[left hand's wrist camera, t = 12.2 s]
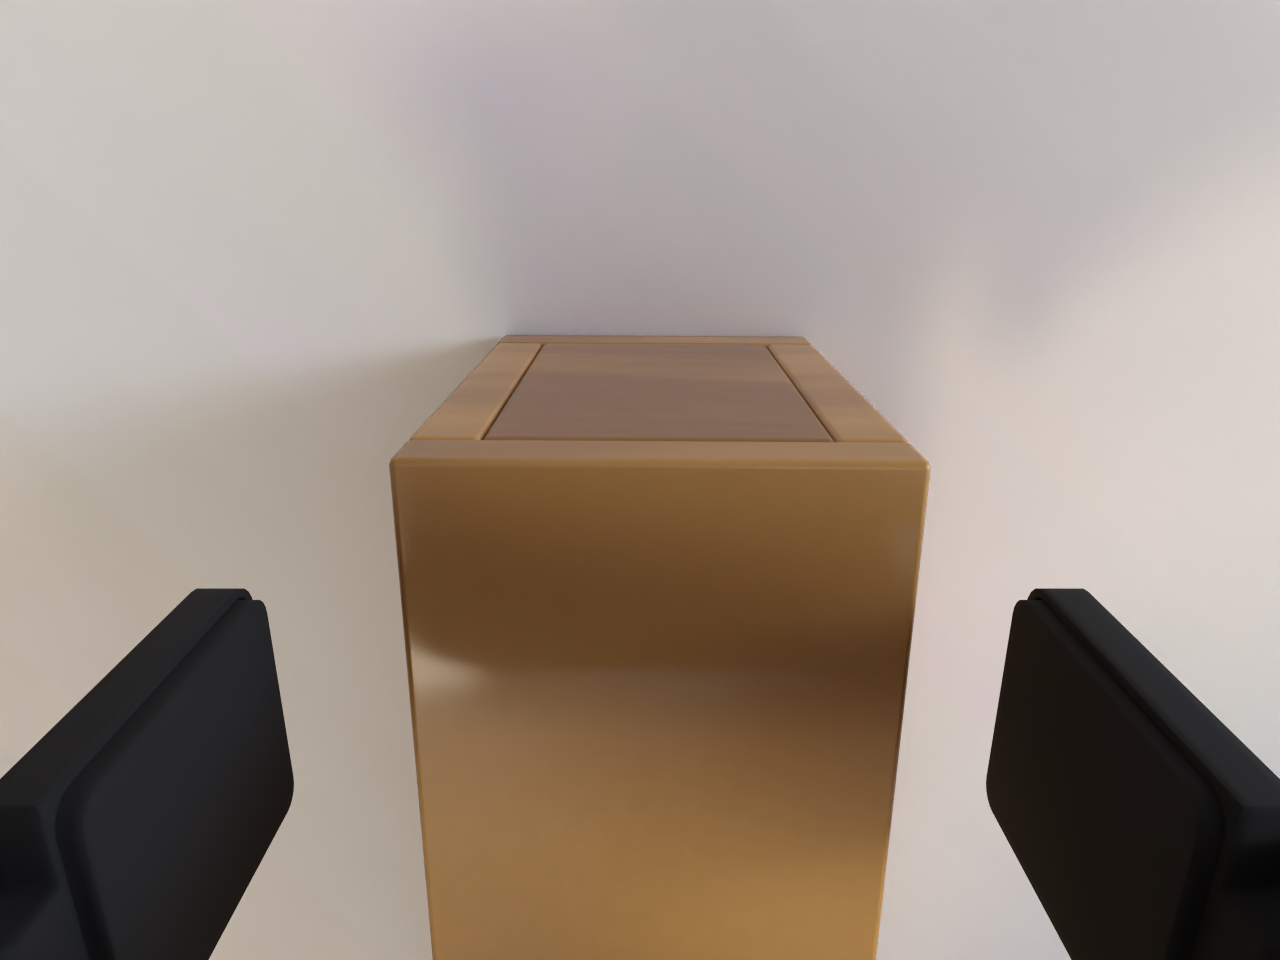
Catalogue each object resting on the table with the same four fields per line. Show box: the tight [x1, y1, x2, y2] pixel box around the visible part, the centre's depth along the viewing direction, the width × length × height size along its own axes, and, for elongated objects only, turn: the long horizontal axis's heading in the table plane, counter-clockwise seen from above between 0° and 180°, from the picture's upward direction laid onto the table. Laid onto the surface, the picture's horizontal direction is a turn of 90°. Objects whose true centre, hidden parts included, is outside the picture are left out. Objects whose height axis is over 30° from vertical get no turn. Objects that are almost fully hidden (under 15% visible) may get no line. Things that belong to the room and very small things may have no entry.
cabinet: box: [389, 335, 931, 960], centre depth 17 cm, size 20×6×9 cm, turn 0°
